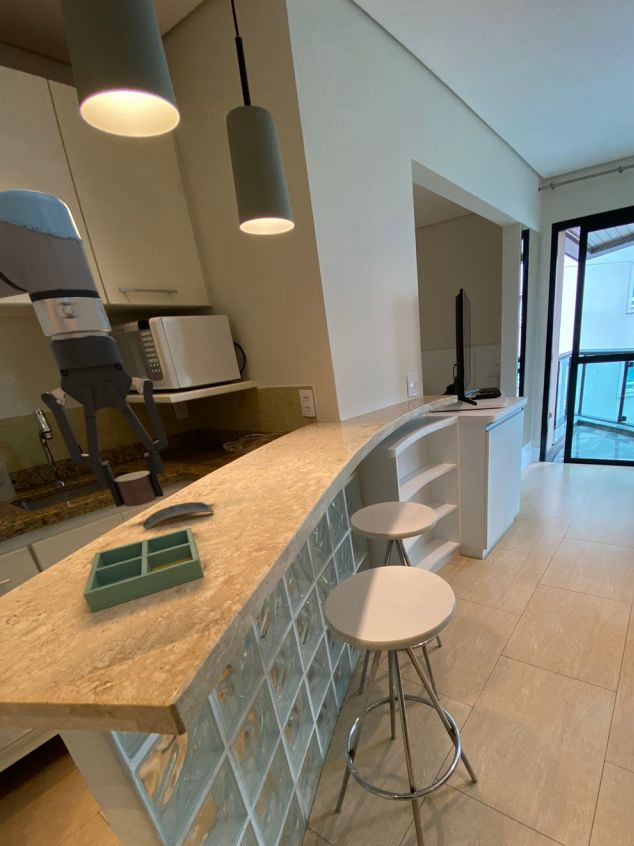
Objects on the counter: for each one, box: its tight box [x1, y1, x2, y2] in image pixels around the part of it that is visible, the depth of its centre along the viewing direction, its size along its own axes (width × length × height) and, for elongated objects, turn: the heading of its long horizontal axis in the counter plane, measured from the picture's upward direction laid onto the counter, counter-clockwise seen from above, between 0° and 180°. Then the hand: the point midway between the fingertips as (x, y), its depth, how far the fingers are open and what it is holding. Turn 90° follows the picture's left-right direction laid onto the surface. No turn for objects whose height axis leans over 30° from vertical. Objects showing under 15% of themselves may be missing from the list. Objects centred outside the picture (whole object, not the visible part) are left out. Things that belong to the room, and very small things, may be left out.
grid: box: [83, 527, 205, 613], centre depth 67 cm, size 15×15×3 cm
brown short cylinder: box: [114, 470, 159, 508], centre depth 63 cm, size 5×5×4 cm
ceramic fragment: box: [142, 501, 215, 530], centre depth 89 cm, size 14×5×4 cm, turn 109°
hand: (140, 498), depth 63 cm, fingers closed on brown short cylinder, 5 cm apart
